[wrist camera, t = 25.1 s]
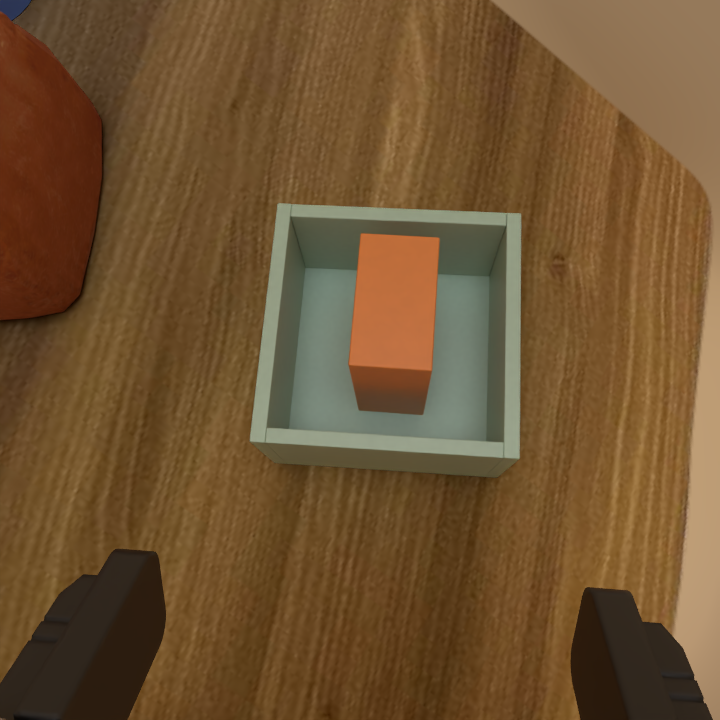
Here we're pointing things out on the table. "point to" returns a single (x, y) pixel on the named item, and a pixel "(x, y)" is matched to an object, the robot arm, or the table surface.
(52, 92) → the bread
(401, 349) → the block
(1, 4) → the water bottle
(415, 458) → the bin
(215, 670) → the table surface
